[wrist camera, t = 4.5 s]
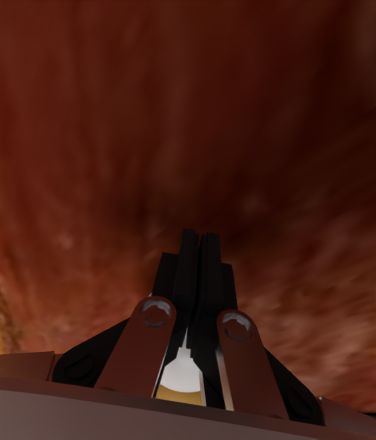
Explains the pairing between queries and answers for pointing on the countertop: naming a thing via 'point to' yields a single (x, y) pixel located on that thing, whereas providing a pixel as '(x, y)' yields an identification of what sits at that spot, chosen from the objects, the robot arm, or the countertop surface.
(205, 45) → the countertop surface
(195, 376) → the cue ball
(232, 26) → the countertop surface
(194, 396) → the amber ball
